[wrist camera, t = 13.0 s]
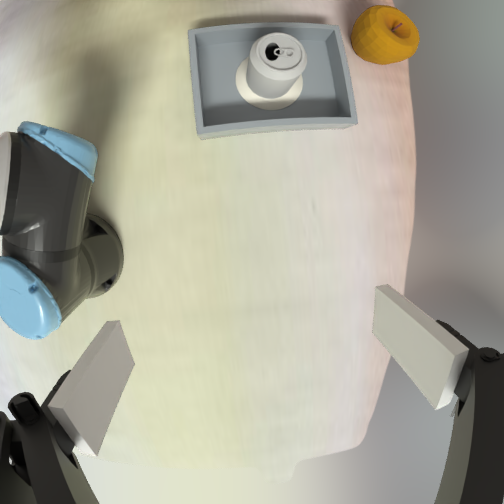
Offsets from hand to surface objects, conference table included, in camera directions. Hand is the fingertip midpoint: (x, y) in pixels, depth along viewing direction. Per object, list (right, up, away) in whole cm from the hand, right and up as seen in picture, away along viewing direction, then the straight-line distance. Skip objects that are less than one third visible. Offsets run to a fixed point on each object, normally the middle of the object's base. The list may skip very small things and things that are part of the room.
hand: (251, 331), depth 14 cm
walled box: (+3, +32, +28) cm, 42 cm away
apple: (+22, +42, +27) cm, 54 cm away
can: (+3, +32, +27) cm, 42 cm away
